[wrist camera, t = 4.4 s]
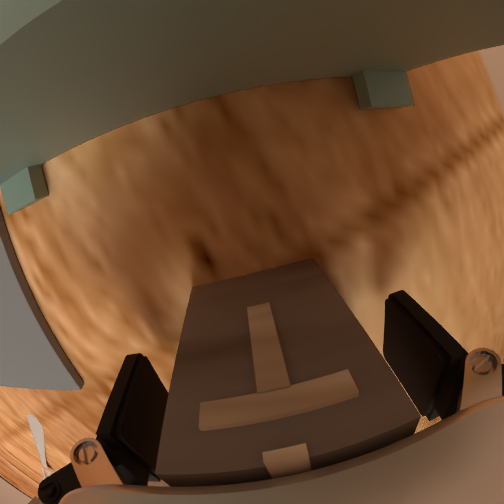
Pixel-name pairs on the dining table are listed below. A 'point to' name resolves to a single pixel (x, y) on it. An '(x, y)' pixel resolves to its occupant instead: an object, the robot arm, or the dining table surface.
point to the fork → (39, 441)
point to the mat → (27, 333)
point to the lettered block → (275, 383)
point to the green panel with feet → (201, 61)
